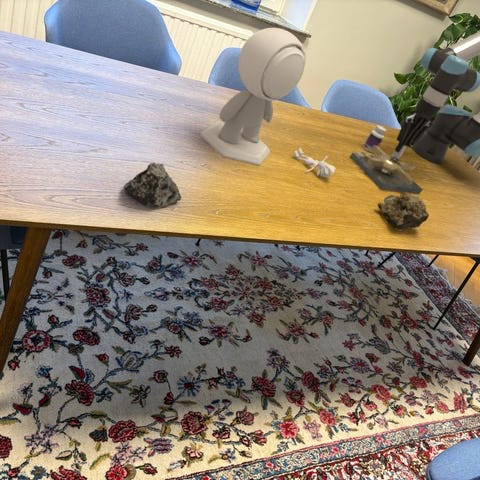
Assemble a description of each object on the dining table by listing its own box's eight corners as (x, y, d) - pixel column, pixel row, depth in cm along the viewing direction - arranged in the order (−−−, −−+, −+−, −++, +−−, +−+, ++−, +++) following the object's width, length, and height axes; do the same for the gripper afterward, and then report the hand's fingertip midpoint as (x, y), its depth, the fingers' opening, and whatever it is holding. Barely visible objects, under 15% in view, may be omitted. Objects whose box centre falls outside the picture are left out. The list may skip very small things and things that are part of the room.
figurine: (309, 140, 148) (347, 160, 141) (307, 152, 152) (343, 173, 145) (285, 155, 142) (323, 177, 135) (283, 168, 145) (321, 190, 139)
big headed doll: (234, 168, 125) (287, 43, 105) (188, 124, 136) (228, 4, 116) (281, 163, 139) (335, 52, 119) (235, 124, 149) (278, 16, 129)
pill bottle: (375, 154, 178) (388, 133, 172) (362, 149, 177) (375, 127, 172) (374, 149, 182) (387, 128, 176) (362, 144, 182) (375, 122, 176)
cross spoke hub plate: (387, 162, 175) (391, 155, 174) (419, 193, 163) (425, 186, 161) (349, 157, 165) (354, 149, 163) (381, 189, 152) (386, 181, 150)
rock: (141, 225, 94) (179, 198, 92) (113, 186, 93) (152, 158, 91) (156, 217, 107) (190, 193, 105) (132, 182, 106) (166, 158, 104)
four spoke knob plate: (391, 155, 175) (397, 145, 172) (427, 189, 161) (435, 179, 158) (350, 148, 164) (356, 138, 161) (385, 184, 150) (392, 173, 147)
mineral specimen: (365, 203, 139) (382, 177, 134) (393, 206, 146) (411, 181, 140) (391, 234, 130) (411, 207, 124) (421, 236, 136) (441, 210, 131)
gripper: (436, 100, 162) (399, 155, 175) (412, 93, 155) (376, 151, 168) (450, 110, 157) (411, 166, 170) (426, 103, 150) (387, 163, 163)
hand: (393, 159), depth 169 cm, fingers closed
